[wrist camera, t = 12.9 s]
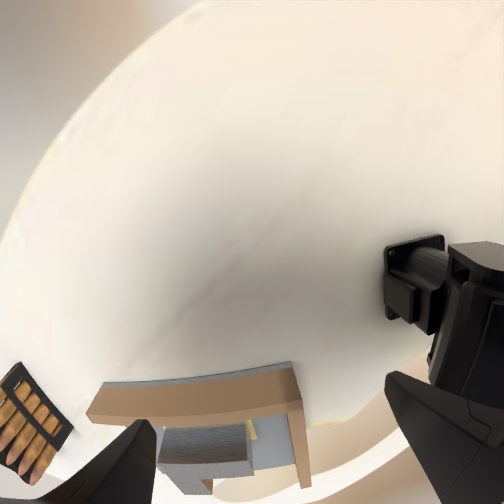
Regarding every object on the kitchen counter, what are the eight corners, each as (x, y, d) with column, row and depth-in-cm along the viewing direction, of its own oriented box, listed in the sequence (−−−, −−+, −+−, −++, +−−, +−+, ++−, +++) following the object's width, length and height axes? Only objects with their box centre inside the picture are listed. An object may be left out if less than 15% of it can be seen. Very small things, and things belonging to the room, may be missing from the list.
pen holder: (40, 443, 25) (18, 481, 15) (1, 402, 23) (-27, 437, 13) (63, 440, 24) (39, 486, 14) (18, 392, 22) (-16, 435, 12)
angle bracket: (258, 456, 23) (261, 491, 19) (188, 461, 23) (184, 494, 19) (245, 419, 22) (247, 460, 17) (165, 425, 22) (156, 463, 17)
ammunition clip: (74, 427, 23) (40, 491, 11) (66, 427, 23) (33, 489, 12) (20, 361, 21) (-33, 418, 9) (15, 364, 21) (-36, 418, 9)
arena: (290, 361, 22) (301, 398, 17) (304, 456, 25) (311, 486, 20) (103, 382, 21) (85, 413, 17) (163, 469, 25) (158, 496, 20)
